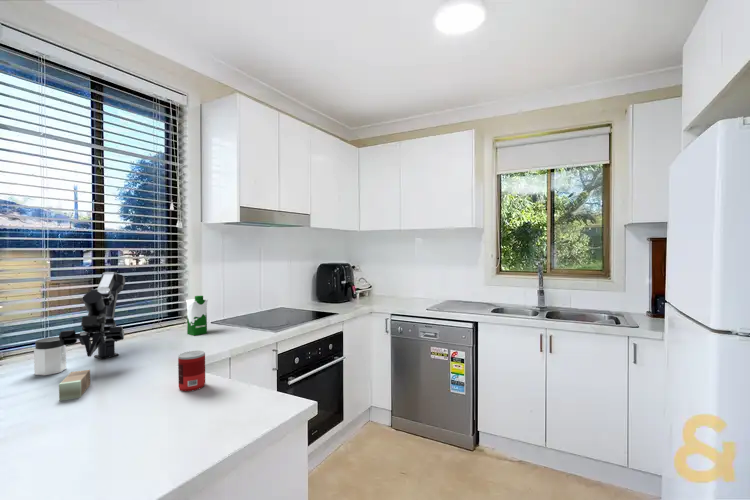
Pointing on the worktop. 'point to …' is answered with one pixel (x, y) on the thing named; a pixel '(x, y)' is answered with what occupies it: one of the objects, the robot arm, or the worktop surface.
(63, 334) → the robot arm
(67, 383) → the green and tan block
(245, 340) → the worktop surface
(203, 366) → the canned food
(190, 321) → the milk carton
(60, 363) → the jar
